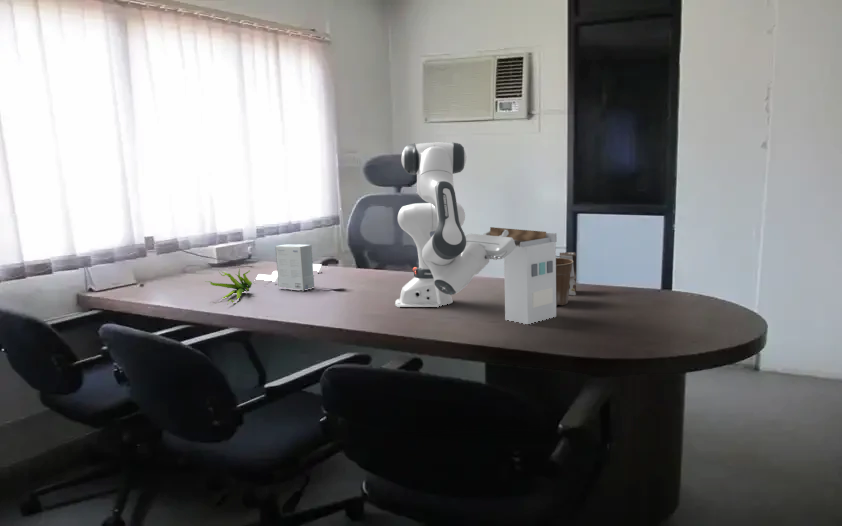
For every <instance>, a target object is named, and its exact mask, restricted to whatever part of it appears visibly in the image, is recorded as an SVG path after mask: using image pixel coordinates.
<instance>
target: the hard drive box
mask: <svg viewBox="0 0 842 526" xmlns="http://www.w3.org/2000/svg"><path fill="white" fill-rule="evenodd" d="M274 248H275V257H276V271H277V273H278V284H277V285H278V288H279V287H286V288H293V289H301V290H305V289H308V288H312V287H314V288H315V278H314V277H315V275H313V264H314V263H313V252H312V251H313V250H312V244H297V243H295V244H288V243H287V244H286V243H285V244H280V245H275V247H274Z"/></svg>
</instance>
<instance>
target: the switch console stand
mask: <svg viewBox="0 0 842 526" xmlns="http://www.w3.org/2000/svg"><path fill="white" fill-rule="evenodd" d="M557 235H558V234H557V232H546V238H542V239H536V240H530V241H523V240H514V242H515V244H516V248H515V249H514V250H513V251H512V252H511V253H510V254H509V255H507V256H506V257H505V258H503V269H504V270H503V271H504V272H503V273H504V274H503V275H504V280H503V281H504V315H505V316H504V320H505V321H507V320H509V321H508V322H511V321H514V322H513V323H516V322H519V323H518V324H521V323H523V324H522V325H525V324H530V325H532V324H531V323H533V324H535V323H534V322H536V323H539V322H538V321H540V322H542V320H543V321H547V320H550V319H553V317H554V318H556V317H557V306H556V258H557V255H556V254H557V252H556V250H557V249H556V247H557V239H558V238H557ZM549 318H550V319H549ZM546 319H547V320H546Z"/></svg>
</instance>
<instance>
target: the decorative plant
mask: <svg viewBox="0 0 842 526" xmlns="http://www.w3.org/2000/svg"><path fill="white" fill-rule="evenodd" d="M237 267H238V273H237V274H236V273H234V274H235V276H237V278H238V279H236V278H235V277H234V276H233V275H231V273H227V272H224V271H222V273H223V274H221V271H219V269H218V270H217V271H218V273H219V274H220V275H221V276H222V277H225V276H227V277H228V278H229V279H230V280H231V282H232V283H222V282H221V283H220V282H218V283H217V282H212V281H204V282H206V283H210V285H212V286H214V287H222V288H226V289H232V291H230V292H229V293H227V294H226V295H225V296H223V297H222V298H225V297H227V298H229V297H232V296H233V295H234V294H233V293H237V294H236V298H237V299H238V298H240V296H241V297H242V294H243V293H242V292H244V291H246V292H250V288H251V287H252V285H253V282H252V281H250V279H249V278H248V277H247V274H248V273H250V272H251V270H248V271H247V272H245V273H243V274H242V276H241V272H240V271H241V270H240V267H239V266H237ZM238 280H239V281H240V282H239V281H238ZM232 294H233V295H232ZM225 299H226V298H225ZM240 299H241V298H240ZM234 301H235V300H233V299H232V298H231V299H229V300H228V302H227V306H228V305H229V303H230V302H232V303H233V302H234Z"/></svg>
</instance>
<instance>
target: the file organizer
mask: <svg viewBox="0 0 842 526" xmlns="http://www.w3.org/2000/svg"><path fill="white" fill-rule="evenodd" d="M313 271H317V272H319V271H322V272H323V264H322V263H321V264H320V263H313ZM255 279H256V280H264V281H272V282H276V281H278V273H277V270H274V271H272V273H271V274H264V273H263V274H262V273H258V274H257V275H256V277H255Z"/></svg>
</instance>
